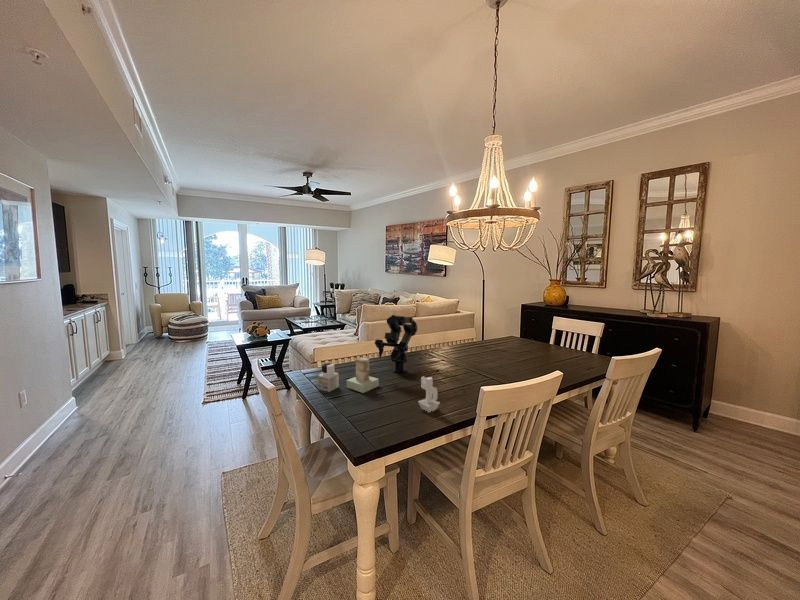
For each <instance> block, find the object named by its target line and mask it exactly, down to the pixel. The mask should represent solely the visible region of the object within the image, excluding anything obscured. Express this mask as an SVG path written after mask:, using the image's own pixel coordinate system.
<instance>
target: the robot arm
mask: <svg viewBox="0 0 800 600" xmlns="http://www.w3.org/2000/svg"><path fill="white" fill-rule="evenodd" d="M386 323H387V325H388V328H389V329H390V332H385V333H384V339H385V342H384V341H383V339H375V340H374V344H375V347H376V349H378V352H379V353H378V357H379V359H381V357H382V356H383V353H384V348H385V347H390V348H391V347H392V348H393V349H392V350H391V353H390V358H391V362H394V369H393V370H392V373H398V374H404V373H405V372H406V370H407V369H406V368H405V364H406V363H408V356H407V353H406V352H408V351H409V343H410V340H411V339H412V337H413V336H415V335H416V333H417V332H418V324H417V322H416V321H415V320H414V318H413V317H412V316H404V315H395V314H392V315H391V316H389V317H388V318H386ZM402 327H403V330H404V331H403V332H404V334H403V336H402V338H401V340H400V335H401V333H402Z"/></svg>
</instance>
